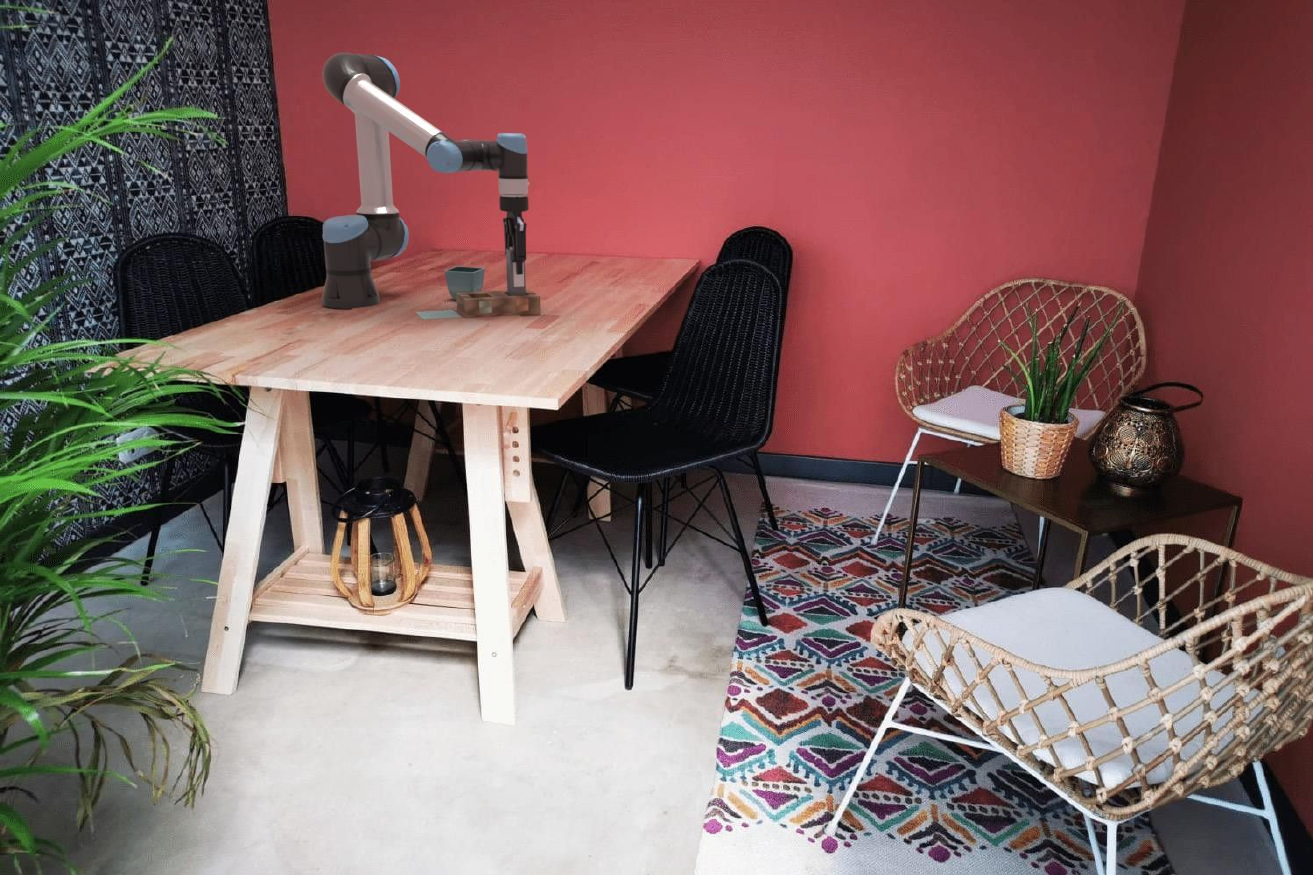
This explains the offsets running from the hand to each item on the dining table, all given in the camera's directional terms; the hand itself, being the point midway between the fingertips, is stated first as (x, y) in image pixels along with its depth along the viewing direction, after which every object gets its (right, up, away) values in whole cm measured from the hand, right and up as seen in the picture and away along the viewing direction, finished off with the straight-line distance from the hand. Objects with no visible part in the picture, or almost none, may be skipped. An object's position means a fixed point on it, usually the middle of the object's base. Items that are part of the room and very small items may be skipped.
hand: (516, 284), depth 252 cm
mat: (-20, -9, -5) cm, 22 cm away
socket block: (-5, -8, 0) cm, 9 cm away
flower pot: (-17, -2, +16) cm, 23 cm away
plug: (0, -2, +1) cm, 3 cm away
